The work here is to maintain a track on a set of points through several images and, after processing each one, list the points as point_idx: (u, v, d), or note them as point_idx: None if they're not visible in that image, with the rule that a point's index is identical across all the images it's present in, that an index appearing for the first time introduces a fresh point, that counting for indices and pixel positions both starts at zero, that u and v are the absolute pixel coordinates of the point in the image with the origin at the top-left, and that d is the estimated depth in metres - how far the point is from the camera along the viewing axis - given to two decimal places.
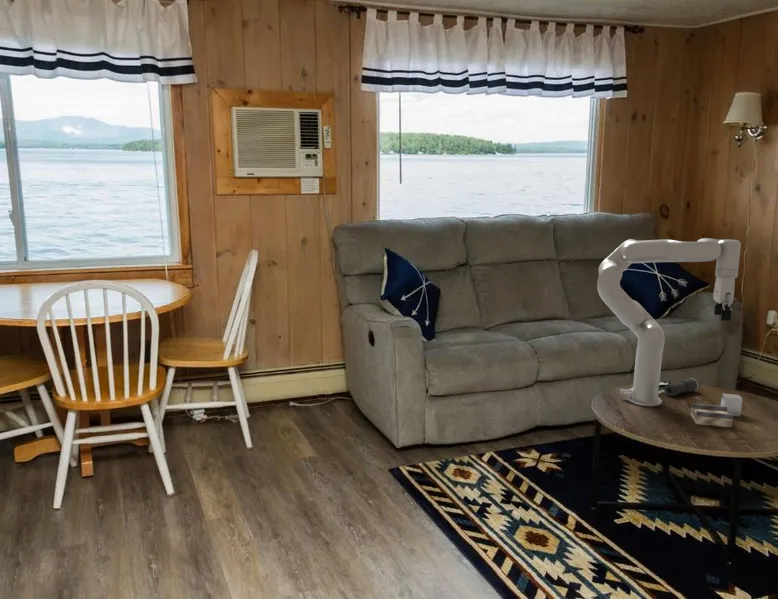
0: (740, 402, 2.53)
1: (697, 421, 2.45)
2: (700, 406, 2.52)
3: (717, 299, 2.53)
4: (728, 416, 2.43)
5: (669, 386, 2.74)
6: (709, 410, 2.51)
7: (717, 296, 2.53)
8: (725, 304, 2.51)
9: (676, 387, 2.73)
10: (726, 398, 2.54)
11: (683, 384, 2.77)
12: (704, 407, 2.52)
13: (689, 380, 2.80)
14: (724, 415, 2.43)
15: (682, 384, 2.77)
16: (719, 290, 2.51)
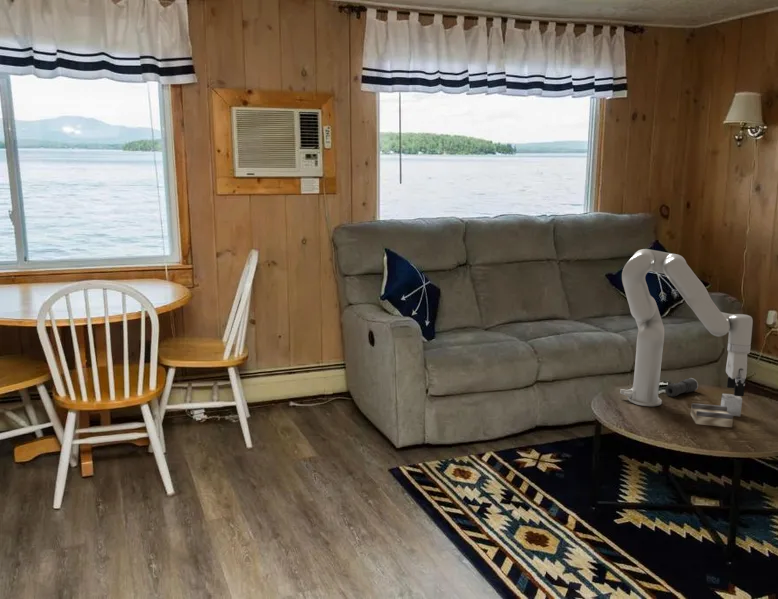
0: (740, 402, 2.53)
1: (697, 421, 2.45)
2: (700, 406, 2.52)
3: (730, 374, 2.52)
4: (728, 416, 2.43)
5: (670, 386, 2.74)
6: (709, 410, 2.51)
7: (730, 371, 2.52)
8: (738, 379, 2.50)
9: (677, 387, 2.73)
10: (726, 398, 2.54)
11: (684, 384, 2.77)
12: (704, 407, 2.52)
13: (689, 380, 2.80)
14: (724, 415, 2.43)
15: (683, 384, 2.77)
16: (732, 365, 2.50)
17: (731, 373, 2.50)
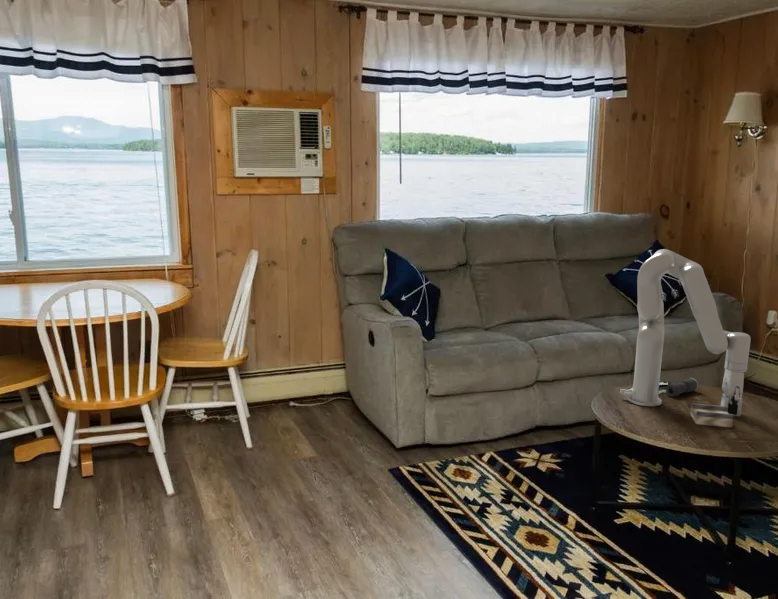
0: (740, 402, 2.53)
1: (697, 421, 2.45)
2: (700, 406, 2.52)
3: (726, 391, 2.53)
4: (728, 416, 2.43)
5: (671, 386, 2.74)
6: (709, 410, 2.51)
7: (726, 388, 2.53)
8: (733, 397, 2.53)
9: (678, 387, 2.73)
10: (726, 398, 2.54)
11: (684, 384, 2.77)
12: (704, 407, 2.52)
13: (689, 380, 2.80)
14: (724, 415, 2.43)
15: (683, 384, 2.77)
16: (728, 383, 2.51)
17: (727, 391, 2.52)
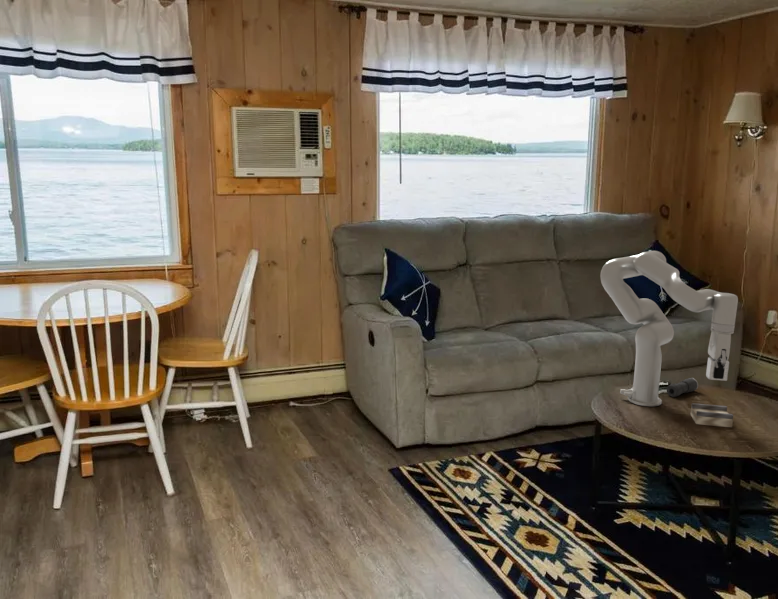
0: (727, 365, 2.42)
1: (697, 421, 2.45)
2: (700, 406, 2.52)
3: (712, 355, 2.43)
4: (728, 416, 2.43)
5: (672, 387, 2.74)
6: (709, 410, 2.51)
7: (712, 351, 2.43)
8: None
9: (679, 387, 2.73)
10: (712, 361, 2.43)
11: (684, 384, 2.77)
12: (704, 407, 2.52)
13: (689, 380, 2.80)
14: (724, 415, 2.43)
15: (683, 384, 2.77)
16: (714, 346, 2.41)
17: (713, 354, 2.41)
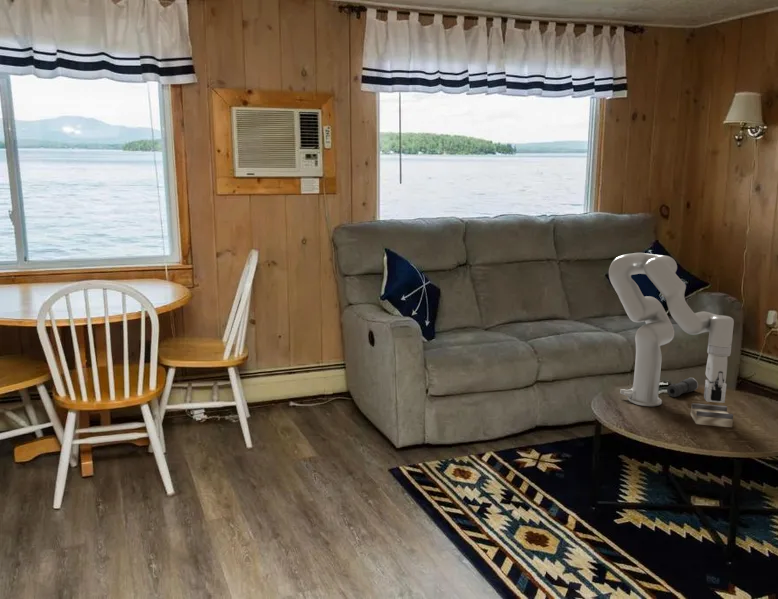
0: (724, 388, 2.43)
1: (697, 421, 2.45)
2: (700, 406, 2.52)
3: (709, 377, 2.44)
4: (728, 416, 2.43)
5: (672, 387, 2.73)
6: (709, 410, 2.51)
7: (709, 374, 2.44)
8: None
9: (679, 387, 2.73)
10: (709, 384, 2.44)
11: (685, 384, 2.77)
12: (704, 407, 2.52)
13: (690, 380, 2.80)
14: (724, 415, 2.43)
15: (684, 384, 2.77)
16: (711, 368, 2.42)
17: (710, 376, 2.42)
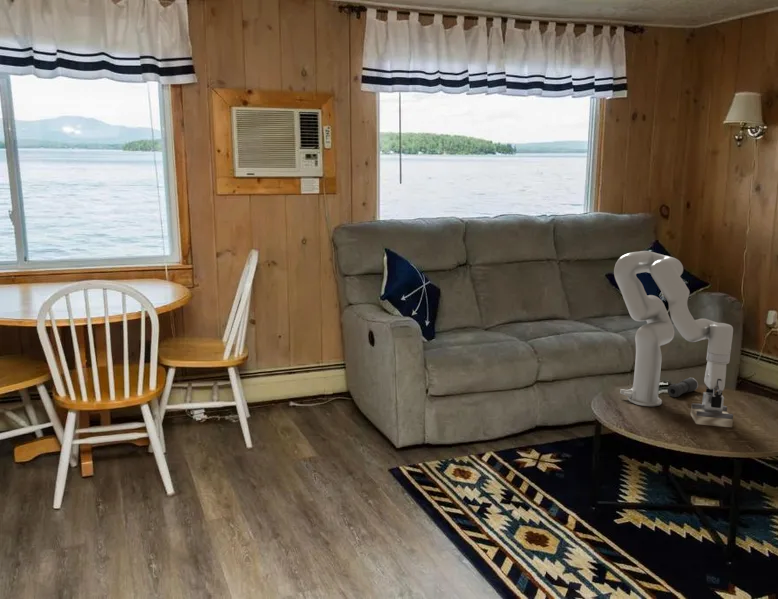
0: None
1: (697, 421, 2.45)
2: (700, 406, 2.52)
3: (708, 384, 2.44)
4: (728, 416, 2.43)
5: (673, 387, 2.73)
6: None
7: (708, 381, 2.45)
8: (716, 390, 2.43)
9: (680, 388, 2.73)
10: (707, 397, 2.45)
11: (685, 384, 2.77)
12: None
13: (690, 380, 2.80)
14: (724, 415, 2.43)
15: (684, 384, 2.77)
16: (710, 375, 2.43)
17: (709, 383, 2.43)
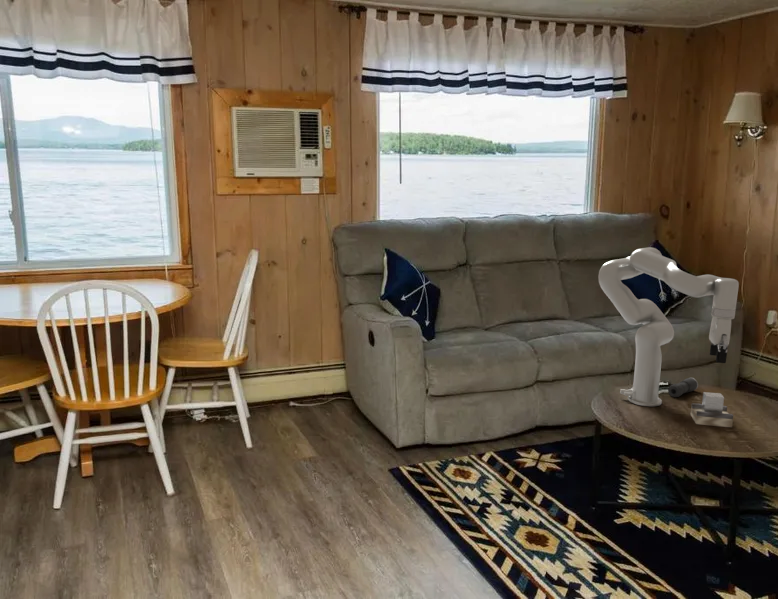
0: (721, 401, 2.45)
1: (697, 421, 2.45)
2: (700, 406, 2.52)
3: (712, 340, 2.42)
4: (728, 416, 2.43)
5: (673, 387, 2.73)
6: None
7: (713, 337, 2.42)
8: (721, 346, 2.40)
9: (680, 388, 2.73)
10: (707, 397, 2.45)
11: (685, 384, 2.77)
12: None
13: (690, 380, 2.80)
14: (724, 415, 2.43)
15: (684, 384, 2.77)
16: (715, 331, 2.40)
17: (714, 339, 2.40)
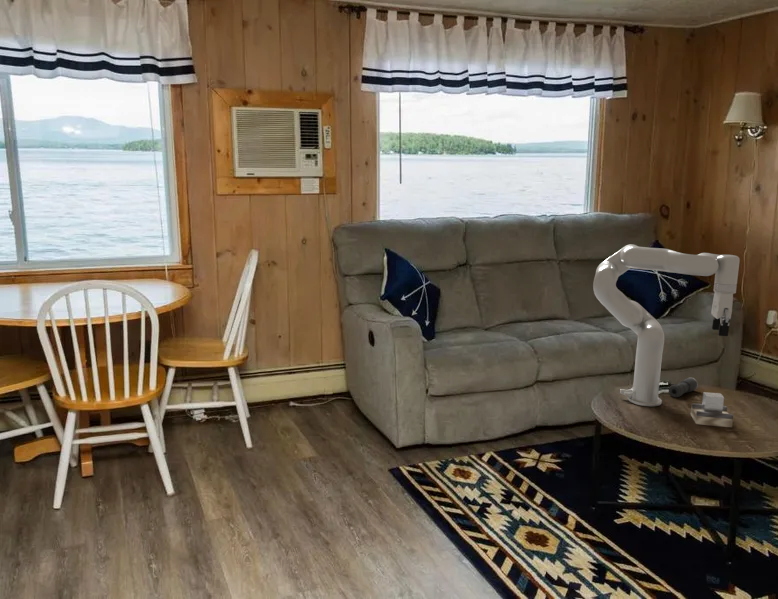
0: (721, 401, 2.45)
1: (697, 421, 2.45)
2: (700, 406, 2.52)
3: (715, 314, 2.52)
4: (728, 416, 2.43)
5: (674, 387, 2.73)
6: None
7: (715, 311, 2.52)
8: (723, 319, 2.50)
9: (681, 388, 2.73)
10: (707, 397, 2.45)
11: (685, 384, 2.77)
12: None
13: (690, 380, 2.80)
14: (724, 415, 2.43)
15: (685, 384, 2.77)
16: (717, 305, 2.50)
17: (716, 313, 2.51)
